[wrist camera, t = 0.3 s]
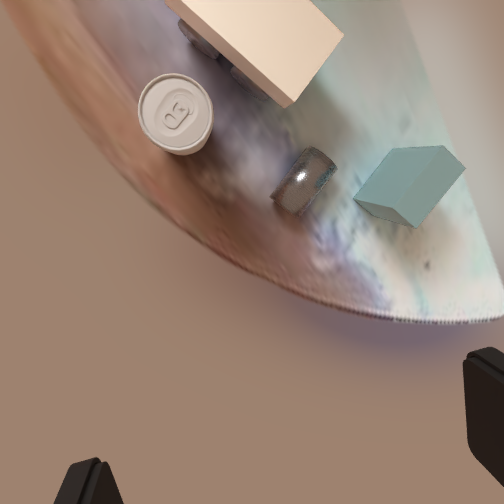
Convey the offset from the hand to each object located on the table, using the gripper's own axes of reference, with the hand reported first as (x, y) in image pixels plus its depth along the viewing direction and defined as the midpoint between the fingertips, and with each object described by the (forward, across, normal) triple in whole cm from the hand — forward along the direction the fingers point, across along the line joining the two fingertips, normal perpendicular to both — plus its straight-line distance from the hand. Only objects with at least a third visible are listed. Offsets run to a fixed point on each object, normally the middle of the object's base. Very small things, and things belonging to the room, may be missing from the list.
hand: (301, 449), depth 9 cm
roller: (+29, -9, -4) cm, 30 cm away
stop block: (+29, -18, -2) cm, 34 cm away
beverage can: (+29, +1, -11) cm, 31 cm away
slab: (+24, -6, -17) cm, 30 cm away
